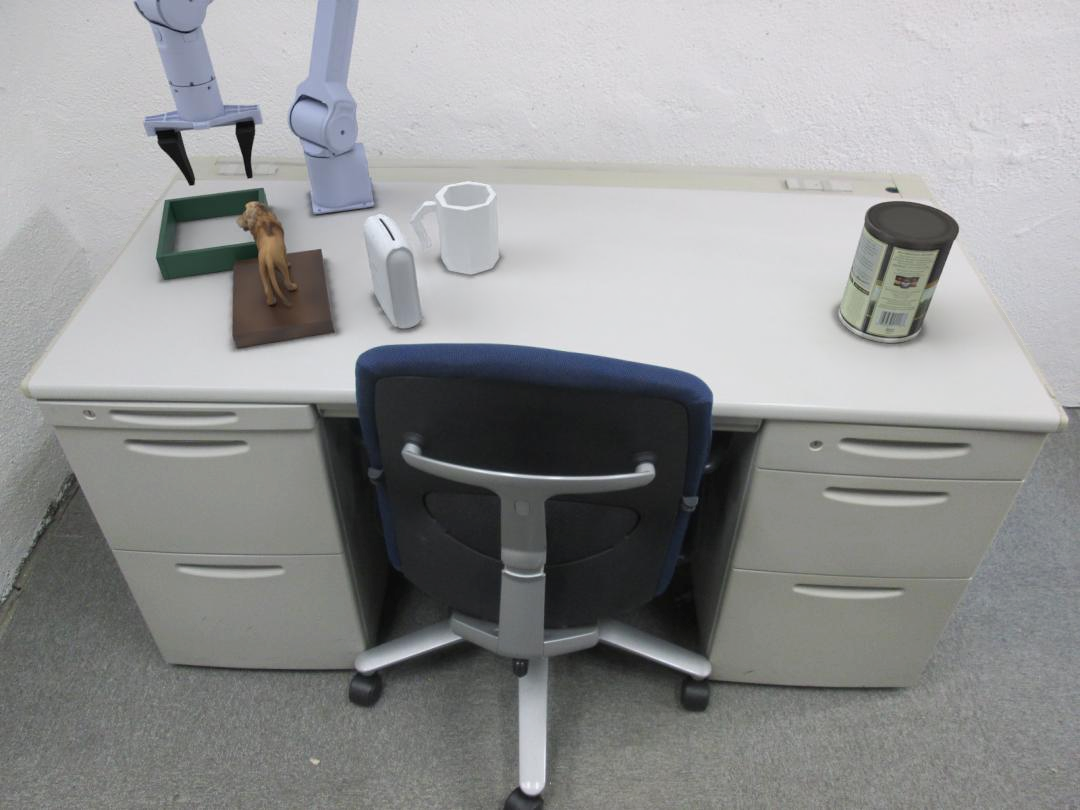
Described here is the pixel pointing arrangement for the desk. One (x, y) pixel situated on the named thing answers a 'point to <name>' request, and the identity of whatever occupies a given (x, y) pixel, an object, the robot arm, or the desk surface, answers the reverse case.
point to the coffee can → (896, 270)
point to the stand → (281, 301)
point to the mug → (463, 226)
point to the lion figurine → (268, 247)
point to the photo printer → (392, 271)
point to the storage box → (200, 209)
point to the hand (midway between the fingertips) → (221, 178)
